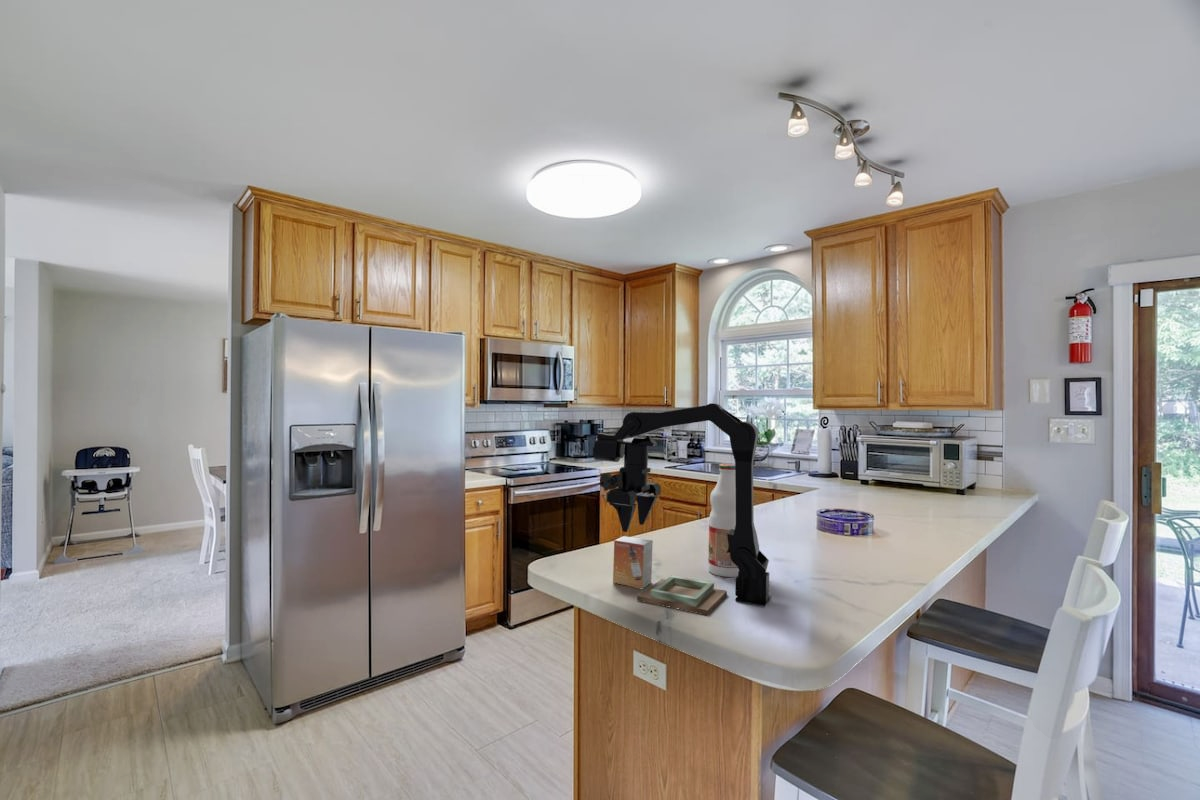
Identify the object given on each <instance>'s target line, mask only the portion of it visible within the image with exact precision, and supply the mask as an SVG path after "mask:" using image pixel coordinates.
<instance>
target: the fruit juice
mask: <svg viewBox="0 0 1200 800" xmlns="http://www.w3.org/2000/svg"><path fill="white" fill-rule="evenodd" d="M718 470H719V476H718V479H717V482H716V484H715V487H714V488H713V489H712V491H711V492H710V495H709V496H710V497H709V500H710V501H709V502H710V505H711V511H710V513H709V519H708V559H707V560H708V563H707V564H708V571H709V572H710V573H711V575H716V576H718V577H723V578H724V577H725V578H736V577H737V576H738V571H739V569H738V566H737V565H735V564H734V563H733V562H732V560H731V558H730V552H729V553H727V550H728V546H729V544H728V538H727V534H728V533H729V531H730V530H731V529H734V530H735V525H736V487H735V463H720V464H718Z"/></svg>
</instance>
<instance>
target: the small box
mask: <svg viewBox="0 0 1200 800" xmlns="http://www.w3.org/2000/svg"><path fill="white" fill-rule="evenodd" d="M653 544H654V541H653V539H645V538H640V537H639V538H638V537H631V536H627V535H623V536H620V537H619V538H617V539H615V540H614V541H613V571H612V584H616V583H617V584H619V585H622V586H626V585H627V586H628V587H631V586H632V588H635V587H637V589H639V588H643V589H645V588H646V587H647V586H649V585H650V584H652V577H653V576H652V574H653V570H652V569H653ZM648 584H649V585H648ZM644 587H645V588H644Z"/></svg>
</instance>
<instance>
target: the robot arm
mask: <svg viewBox="0 0 1200 800" xmlns="http://www.w3.org/2000/svg"><path fill="white" fill-rule="evenodd" d="M706 421H707V422H708V421H710V422H711V423H713V425H715V426H716V427H717V428H719V430H721V432H724V433H725V434H726V435H727V436H728V437H729V442H730V447H731V452H732V456H733V459H734V464H735V487H736V525H735V530H734V529H731V530H730V531H729V533H728V534H727V538H728V544H729V546H728V550H727V553H729V552H730V558H731V560H732V562H733V563H734V564H735V565H737V566H738V569H739V571H738V576H737V577H735V596H736V597H735V600H734V601H735V602H738V603H739V602H740V603H745V604H748V605H754V606H759V607H766V605H767V604H768V603H769V602H770V600H771V599H772V595H770V572H768V571H767V569H768V565H769V561H770V560H769V558H768V557H767V556H765V554H764V553H763V552H762V551H761V550H760V544H759V539H758V534H757V530H756V526H755V523H754V460H755V455H756V451H757V445H758V441H759V440H758V439H759V429H758V428H757V426H756V425H755V424H754V423H752V422H750V421H742V420H741V419H739V418H738V417H737V416H735V415H734V414H732V413H731V412H729V411H728V410H726V409H725V408H724V407H722V405H720V403H714V402H713V403H712V402H710V403H708V404H705V405H701V406H700V405H699V406H693V407H687V408H680V409H674V410H668V411H661V412H660V411H631V412H628V413H627V414H626V415H625V416H624V418H623V420H622V425H621V426H620V427H619V429H618V430H617V432H616V433H615V434H610V433H609V434H608V433H604V432H601V433H599V432H597V434H596V439H595V441H594V444H593V447H592V457H593V459H594V460H595V461H600V462H613V463H618V462H619V461H620V460H621V459H623V458H624V459H623V466H621V467H620V468H619V473H617V474H614V475H612V474H611V473H610V472H606V473H601V474H600V478H599V483H598V485H599V486H600V487H601V488H603V492H606V493H605V494H606V495H605V497H606V498H605V502H606V503H608V504H609V506H612V507H613V508H614V509H615V510H616V513H617V516H618V519H619V523H620V526H621V531H622V532H624V533H627V532H628V531H629V529H630V525H631V523H632V520H633V517H634V515H635V511H636V508H637V514H638V515H637V516H638V524H639V525H642V526H643V525H645V523H646V521H647V519H648V517H649V515H650V513H651V510H652V509H653V508H654V505H655V504H656V501H657V500H658V498H659V496H660V495H661V491H662V490H661V489H662V487H661V485H660V484H659V482H653V481H652V482H649V481H648V473H651V467H648V466H649V465H648V463H649V461H648V460H649V447H654V446H657V445H658V442H656V440H654V439H653V438H652V436H651V435H647V434H650V433H652V432H656V431H659V430H661V429H663V428H669V427H672V426H673V427H674V426H680V425H687V424H695V423H700V422H706ZM643 435H647V436H646V437H645V438H642V437H636V436H643ZM632 438H633V439H632ZM626 439H627V441H626ZM628 439H632V440H631V441H628ZM624 440H625V441H624Z"/></svg>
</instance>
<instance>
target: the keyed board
mask: <svg viewBox="0 0 1200 800" xmlns="http://www.w3.org/2000/svg"><path fill="white" fill-rule="evenodd" d="M727 596H728V590H724V589H718V588H715V582H712V581H711V582H710V581H704V580H699V579H693V578H688V577H683V576H679V575H678V576H677V575H670V576H669V577H667V578H661V579H659V580H658V581H657V582H654V584H652V585H651V586H649V587H648V588H647V589H645V590H644V591H642V592H641V593H639V594H638V595H637V597H636V599H637V600H640V601H639V602H642V601H645V602H644V603H647V602H649V603H648V604H652V603H654V604H653V605H656V604H659V605H658V606H661V605H664V606H663V607H666V606H670V607H669V608H671V607H674V608H673V609H675V608H679V609H678V610H680V609H683V610H682V611H685V610H687V611H686V612H690V611H692V612H691V613H694V612H697V613H696V614H699V613H701V614H700V615H704V614H706V616H708V615H709V614H710V613H711V612H713V610H714V609H716V607H717V606H718V605H719V604H720V603H721V602H722V601H723V599H725V598H726V597H727Z"/></svg>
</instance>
